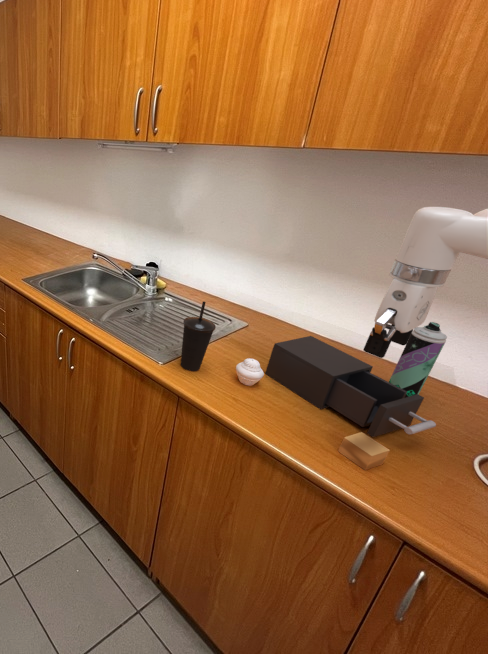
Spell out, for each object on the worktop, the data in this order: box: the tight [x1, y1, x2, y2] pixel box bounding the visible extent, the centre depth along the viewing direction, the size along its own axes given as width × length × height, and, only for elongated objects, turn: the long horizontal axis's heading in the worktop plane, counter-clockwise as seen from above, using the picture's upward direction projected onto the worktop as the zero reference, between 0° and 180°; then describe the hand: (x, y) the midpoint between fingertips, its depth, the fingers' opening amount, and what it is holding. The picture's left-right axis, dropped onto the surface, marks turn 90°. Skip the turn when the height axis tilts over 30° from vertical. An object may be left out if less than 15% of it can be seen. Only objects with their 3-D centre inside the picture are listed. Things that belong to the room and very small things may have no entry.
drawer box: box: [264, 335, 374, 410], centre depth 99 cm, size 15×13×10 cm
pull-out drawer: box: [325, 371, 437, 438], centre depth 88 cm, size 18×11×8 cm, turn 16°
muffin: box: [235, 357, 265, 387], centre depth 102 cm, size 6×6×7 cm
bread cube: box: [337, 431, 391, 471], centre depth 80 cm, size 5×5×4 cm
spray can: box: [388, 321, 448, 398], centre depth 94 cm, size 6×6×20 cm
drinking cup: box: [180, 301, 217, 372], centre depth 106 cm, size 8×8×20 cm
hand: (384, 348), depth 82 cm, fingers open, 9 cm apart
